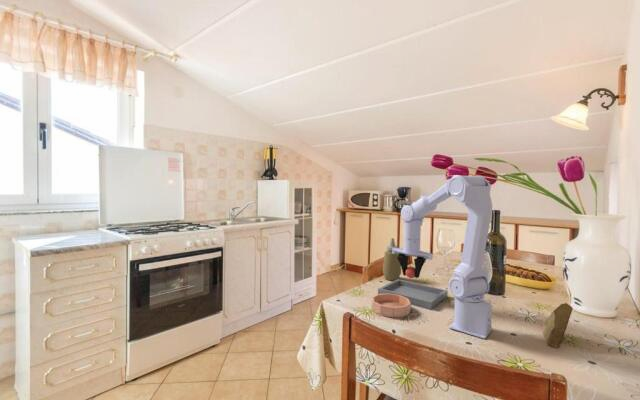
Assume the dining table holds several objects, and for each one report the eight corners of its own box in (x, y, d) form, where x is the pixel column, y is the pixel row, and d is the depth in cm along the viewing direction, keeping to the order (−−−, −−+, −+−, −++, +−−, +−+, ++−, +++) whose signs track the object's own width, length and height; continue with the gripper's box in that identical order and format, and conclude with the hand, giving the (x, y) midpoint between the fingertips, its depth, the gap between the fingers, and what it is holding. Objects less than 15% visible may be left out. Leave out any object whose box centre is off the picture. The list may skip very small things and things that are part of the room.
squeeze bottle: (403, 281, 131) (404, 240, 130) (384, 281, 131) (385, 240, 130) (398, 276, 139) (399, 237, 138) (380, 276, 139) (381, 236, 138)
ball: (418, 277, 111) (418, 266, 111) (413, 280, 108) (414, 269, 108) (408, 275, 113) (408, 264, 113) (403, 277, 110) (403, 266, 110)
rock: (569, 346, 74) (592, 333, 78) (545, 311, 78) (568, 301, 82) (533, 353, 83) (556, 341, 87) (514, 321, 87) (536, 312, 91)
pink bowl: (416, 308, 102) (416, 299, 102) (398, 321, 92) (398, 310, 92) (383, 299, 110) (383, 290, 110) (364, 310, 100) (364, 300, 100)
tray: (447, 297, 113) (447, 290, 113) (430, 309, 101) (431, 302, 101) (397, 285, 127) (397, 279, 126) (377, 295, 115) (378, 288, 114)
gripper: (436, 239, 108) (435, 277, 109) (398, 235, 118) (397, 270, 118) (428, 242, 103) (427, 282, 104) (389, 237, 112) (388, 273, 113)
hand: (411, 276), depth 111 cm, fingers closed on ball, 4 cm apart
